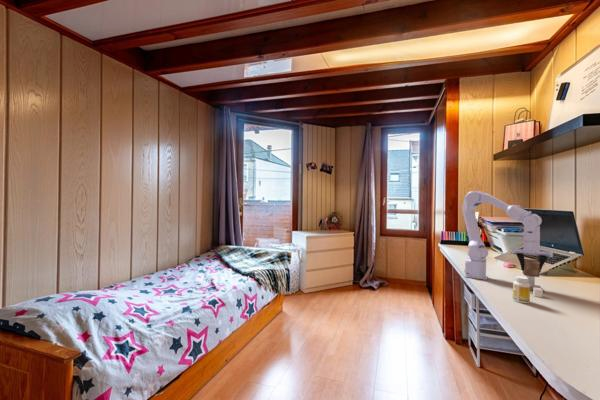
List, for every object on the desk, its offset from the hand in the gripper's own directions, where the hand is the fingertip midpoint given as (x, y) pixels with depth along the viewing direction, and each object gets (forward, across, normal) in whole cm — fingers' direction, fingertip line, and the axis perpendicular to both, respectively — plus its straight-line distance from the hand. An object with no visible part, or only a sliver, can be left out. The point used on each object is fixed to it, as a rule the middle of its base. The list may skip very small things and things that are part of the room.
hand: (530, 270), depth 127 cm
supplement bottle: (+8, -6, -21) cm, 23 cm away
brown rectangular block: (+2, 0, 0) cm, 2 cm away
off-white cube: (+8, +1, -10) cm, 13 cm away
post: (+8, 0, 0) cm, 8 cm away
